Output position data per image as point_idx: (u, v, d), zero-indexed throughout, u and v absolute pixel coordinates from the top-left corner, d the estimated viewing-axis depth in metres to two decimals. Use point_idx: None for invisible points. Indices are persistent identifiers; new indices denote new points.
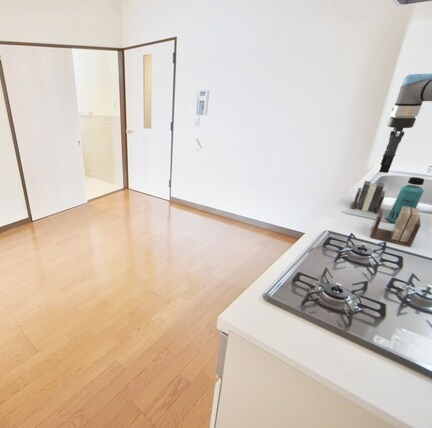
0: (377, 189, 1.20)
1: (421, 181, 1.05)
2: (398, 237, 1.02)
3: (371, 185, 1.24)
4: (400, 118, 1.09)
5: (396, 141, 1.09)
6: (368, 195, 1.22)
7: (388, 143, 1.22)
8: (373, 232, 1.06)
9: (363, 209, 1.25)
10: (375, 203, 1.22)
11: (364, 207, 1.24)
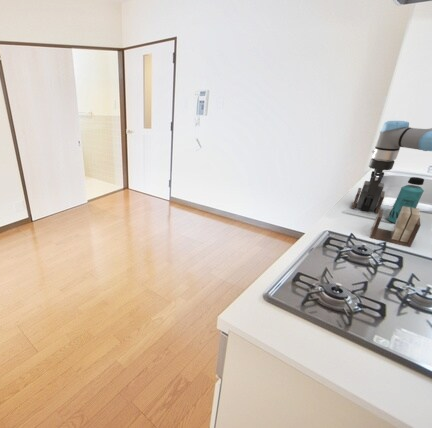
0: (377, 189, 1.20)
1: (421, 181, 1.05)
2: (398, 237, 1.02)
3: None
4: (380, 161, 1.16)
5: (375, 185, 1.17)
6: None
7: None
8: (373, 232, 1.06)
9: None
10: (375, 203, 1.22)
11: None
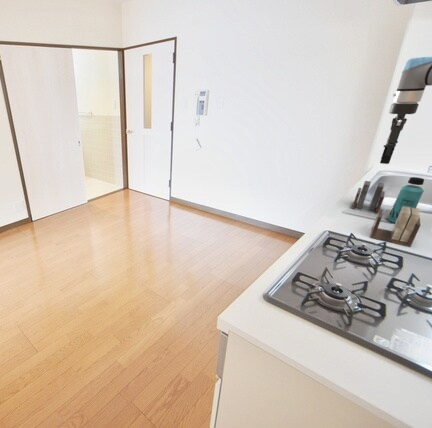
0: (377, 189, 1.20)
1: (421, 181, 1.05)
2: (398, 237, 1.02)
3: None
4: (402, 104, 1.06)
5: (397, 131, 1.07)
6: None
7: (389, 135, 1.17)
8: (373, 232, 1.06)
9: None
10: (375, 203, 1.22)
11: None
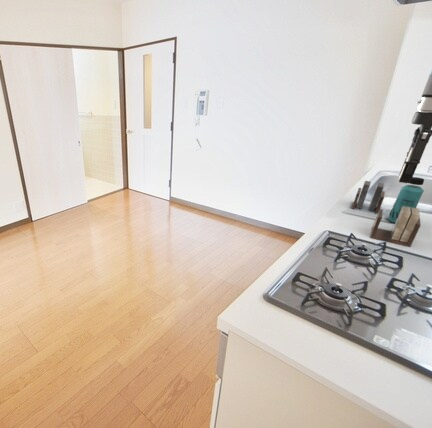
0: (377, 189, 1.20)
1: (421, 181, 1.05)
2: (398, 237, 1.02)
3: None
4: (429, 113, 0.88)
5: (421, 145, 0.89)
6: None
7: None
8: (373, 232, 1.06)
9: None
10: (375, 203, 1.22)
11: None
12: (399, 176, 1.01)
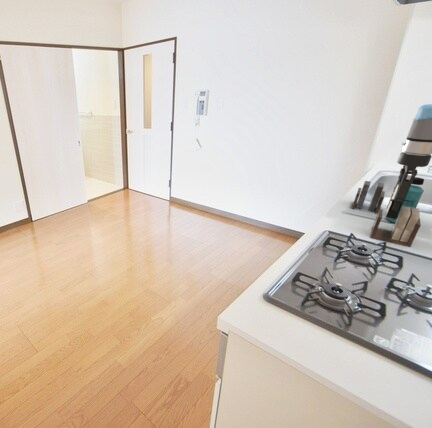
0: (377, 189, 1.20)
1: (421, 181, 1.05)
2: (398, 237, 1.02)
3: None
4: (413, 155, 0.93)
5: (406, 185, 0.94)
6: None
7: (396, 184, 1.05)
8: (373, 232, 1.06)
9: None
10: (375, 203, 1.22)
11: None
12: (386, 210, 1.06)
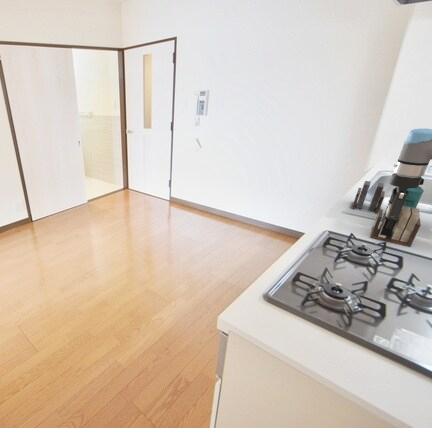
0: (377, 189, 1.20)
1: (421, 181, 1.05)
2: (398, 237, 1.02)
3: (390, 206, 1.03)
4: (404, 177, 0.96)
5: (399, 204, 0.96)
6: None
7: (390, 198, 1.08)
8: (373, 232, 1.06)
9: (380, 235, 1.05)
10: (375, 203, 1.22)
11: None
12: (379, 229, 1.09)
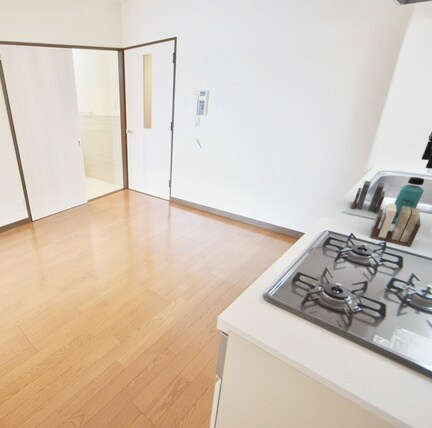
0: (377, 189, 1.20)
1: (421, 181, 1.05)
2: (398, 237, 1.02)
3: (390, 206, 1.03)
4: None
5: None
6: (387, 218, 1.02)
7: (431, 133, 1.00)
8: (373, 232, 1.06)
9: (380, 235, 1.05)
10: (375, 203, 1.22)
11: (382, 232, 1.04)
12: (379, 229, 1.09)
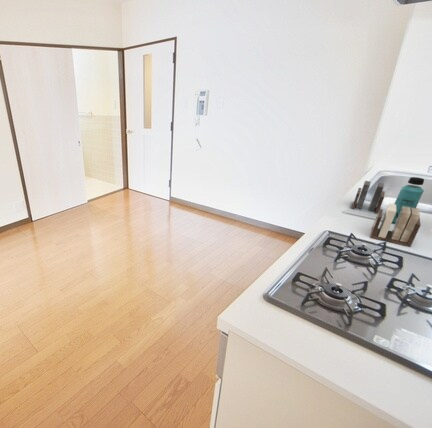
0: (377, 189, 1.20)
1: (421, 181, 1.05)
2: (398, 237, 1.02)
3: (390, 206, 1.03)
4: None
5: None
6: (387, 218, 1.02)
7: None
8: (373, 232, 1.06)
9: (380, 235, 1.05)
10: (375, 203, 1.22)
11: (382, 232, 1.04)
12: (379, 229, 1.09)
